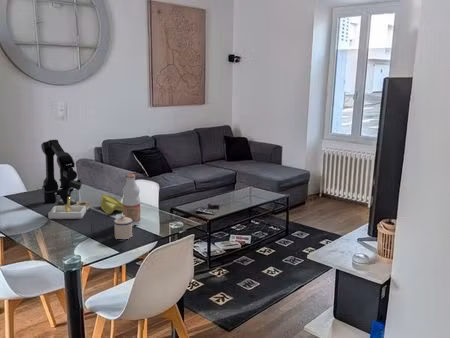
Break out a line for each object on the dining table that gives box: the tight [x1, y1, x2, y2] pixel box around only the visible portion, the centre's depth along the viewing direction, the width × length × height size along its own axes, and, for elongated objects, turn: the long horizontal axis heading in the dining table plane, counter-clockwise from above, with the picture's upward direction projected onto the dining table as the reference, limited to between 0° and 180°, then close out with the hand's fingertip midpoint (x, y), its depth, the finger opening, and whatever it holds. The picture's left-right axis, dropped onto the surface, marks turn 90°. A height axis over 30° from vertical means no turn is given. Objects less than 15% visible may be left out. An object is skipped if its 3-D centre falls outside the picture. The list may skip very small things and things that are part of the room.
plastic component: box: [100, 193, 123, 215], centre depth 248 cm, size 20×7×10 cm
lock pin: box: [65, 196, 72, 212], centre depth 234 cm, size 4×4×10 cm
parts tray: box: [47, 205, 87, 220], centre depth 235 cm, size 18×12×4 cm, turn 97°
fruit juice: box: [122, 173, 141, 227], centre depth 222 cm, size 9×9×28 cm
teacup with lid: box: [113, 214, 133, 240], centre depth 206 cm, size 12×9×12 cm
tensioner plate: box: [55, 198, 91, 212], centre depth 246 cm, size 18×8×5 cm, turn 97°
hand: (67, 202), depth 233 cm, fingers open, 5 cm apart
